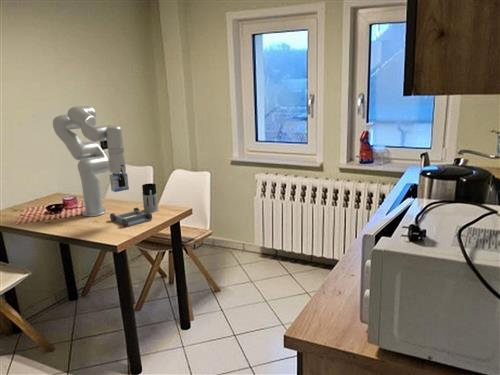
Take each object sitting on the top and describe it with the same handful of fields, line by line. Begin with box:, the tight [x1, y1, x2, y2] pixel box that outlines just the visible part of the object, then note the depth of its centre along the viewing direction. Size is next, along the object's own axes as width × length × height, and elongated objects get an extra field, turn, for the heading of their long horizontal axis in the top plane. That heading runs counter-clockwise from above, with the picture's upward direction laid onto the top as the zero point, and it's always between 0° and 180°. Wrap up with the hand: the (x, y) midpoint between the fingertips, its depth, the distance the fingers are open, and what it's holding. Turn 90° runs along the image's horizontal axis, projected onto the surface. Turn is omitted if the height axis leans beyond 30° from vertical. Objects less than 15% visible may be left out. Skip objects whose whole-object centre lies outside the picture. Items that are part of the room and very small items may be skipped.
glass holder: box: [141, 183, 160, 214], centre depth 236 cm, size 9×14×15 cm, turn 18°
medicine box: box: [109, 172, 130, 193], centre depth 217 cm, size 8×4×9 cm, turn 129°
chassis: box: [109, 207, 153, 227], centre depth 223 cm, size 17×15×4 cm
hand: (119, 185), depth 217 cm, fingers closed on medicine box, 4 cm apart
